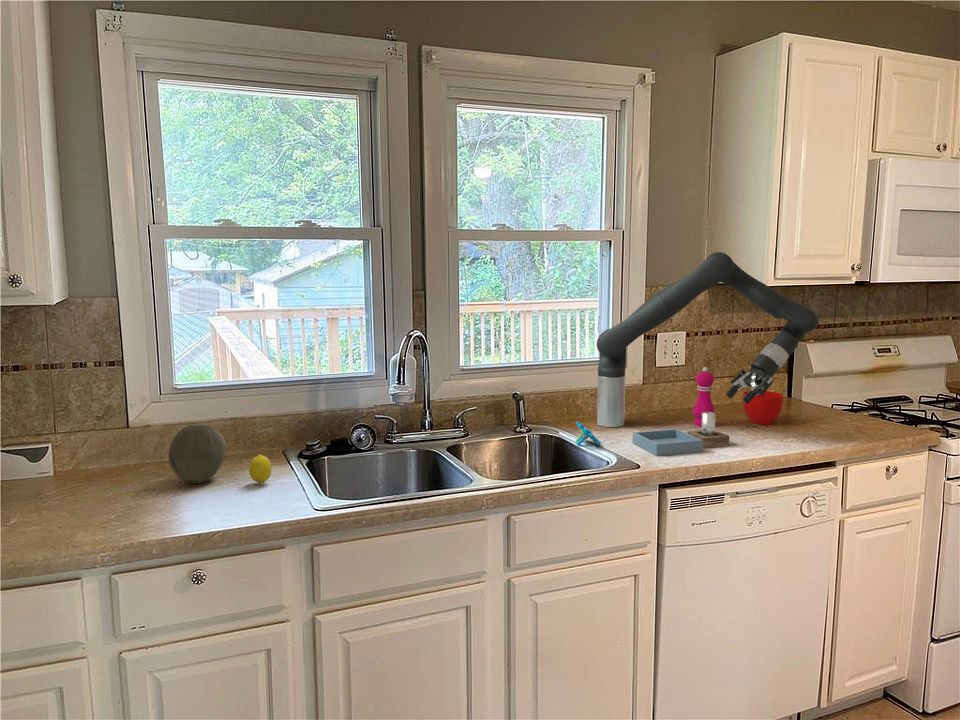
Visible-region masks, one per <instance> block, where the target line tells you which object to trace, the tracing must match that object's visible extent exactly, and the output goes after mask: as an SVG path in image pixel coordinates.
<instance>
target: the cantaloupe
mask: <svg viewBox="0 0 960 720" xmlns="http://www.w3.org/2000/svg"><path fill="white" fill-rule="evenodd" d="M226 444H227V443H226V440H225V438H224V436H223V435H222V434H221V433H220V431H218V429H216V428H215V427H214V426H210V425H205V424H195V425H187V426H185V427H184V428H182V429H180V430H179V431H178V432H177V433H175V435H174V437H173V439H172V440H171V443H170V445H169V449H168V464H169V465H170V468H171V470H172V472H173V473H174V475H176V476H177V477H178V478H179V480H182V481H183V482H189V483H192V482H195V483H194V484H200V483H199V482H202V483H204V482H206V481H208V480H209V479H211V478H213V476H215V475H216V474H217V473H218V471H219V470H220V468H221V466H222V464H223V462H224V458H225V455H226V450H227V449H226V448H227V447H226V446H227V445H226Z"/></svg>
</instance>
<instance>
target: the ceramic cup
mask: <svg viewBox="0 0 960 720" xmlns="http://www.w3.org/2000/svg"><path fill="white" fill-rule="evenodd" d="M749 391H750V390H748V391H743V393H742V399H743V398H744V396H745V395H746V394H747V393H748V392H749ZM783 403H784V395H783V394H782V393H781V392H776V391H769V390H767V391H766V392H765V393H764V394H763V395H760V394H759V395H757V396H755V397H754V398H753V399H752V400H751V401H750V402H749V403H748V404H746V403H745V402H744V401H743V400H742V405H743V409H744V413H745V415H746V416H747V418H748V419H749V421H751V423H753V424H756V425H763V424H764V425H766V426H767V425H771V424H772V423H774V421H775V420H776V419H777V418H778V417H779V415H780V413H781V411H782V409H783ZM764 425H763V426H764Z"/></svg>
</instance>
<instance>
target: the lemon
mask: <svg viewBox="0 0 960 720" xmlns="http://www.w3.org/2000/svg"><path fill="white" fill-rule="evenodd" d="M248 470H249V476H250V478H251V480H252V481H254V482H256V483H258V484H259V483H263V484H264V483H265V482H267V480H269V479H270V477H271V476H272V464H271V461H270V460H269V458H268V457H267V456H264V455H262V454H257V455H256V456H254V457H253V458H252V459H251V461H250V462H249V468H248Z"/></svg>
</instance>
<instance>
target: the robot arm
mask: <svg viewBox="0 0 960 720" xmlns="http://www.w3.org/2000/svg"><path fill="white" fill-rule="evenodd" d="M719 283H722V284H724V285H726V286H728V287H729V288H732V289H734V290H736V291H737V292H738V293H739V294H741V295H743V296H744V297H746V298H747V299H748V300H749V301H750V302H751V303H753V304H755V306H757V307H759V309H761V310H762V311H763V312H766V314H769V315H770V316H771V317H773V318H775V319H778V320H779V319H783V320H785V321H786V323H785V324H784V325H783V327H782V328H781V330H780V331H779V332H778V334H776V335H775V337H774V338H773V339H772V340H771V341H770V342H769V344H767V345H766V346H765V347H764V348H763V349H762V350H761V351H760V352H759V354H757V356H756V357H755V358H754V359H753V360H752V362H751V363H750V369H749V370H748V371H745V369H743V368H742V369H740V371H738V373H736V375H735V376H734V377H733V378H732V379H731V380H730V381H729V383H730V384H731V385H732V386H731V387H730V388H729V390H727V391H726V393H725V395H726V397H727V398H728V399H733V397H735V395H736V394H737V393H738V392H739V390H741V389H743V388H744V389H745V388H747V387H751V388H750V390H748V391H749V392H748V393H747V394H746V395H745V396H744V398H743V397H742V402H743V401H744V402H745V403H746V404H748V403H749V402H750V401H751V400H752V399H753V398H754V397H755V396H757V395H759V394H760V395H763V394H764V393H765V392H766V391H768V389H769V388H770V387H771V386H772V385H773V383H774V382H775V381H774V380H773V377H774V376H775V375H776V373H778V371H779V370H780V369H781V368H782V367H783V366H784V364H785V363H786V362H787V360H788V359H789V358H790V356H791V355H792V354H793V353H794V352H795V351H796V349H797V348H798V346H799V343H800V342H801V341H802V339H803V338H804V337H805V336H806V335H807V334H809V333H810V332H813V331H814V330H816V328H817V327H818V326H819V323H820V320H819V317H818V314H817V313H816V312H815V311H814V310H813V309H811V308H809V307H807V306H805V305H803V304H801V303H798V302H796V301H793V300H792V299H791V300H790V299H789V298H788V297H786V296H784V295H783V294H782V293H780V292H779V291H778V290H775V289H774V288H772V287H771V286H769V285H768V284H765V283H763V282H762V281H761V280H758V279H757V278H755V277H753V276H752V275H751V274H749V273H747V272H746V271H744V270H743V269H742V268H741V267H740V266H738V264H736V262H734V260H733V259H732V257H731V256H730V255H729V254H728V253H727V254H726V253H725V252H722V251H716V252H712V253H710V254H709V255H708V256H706V258H705V259H704V260H703V261H702V263H700V264H699V265H698V266H697V267H696V268H694V269H693V270H692V271H691V272H690V273H688V274H686V276H684V277H682V278H680V279H678V280H677V281H675V282H672V283H671V284H669V285H667V286H666V287H664V288H662V289H661V290H659V291H658V292H657V293H655V294H654V295H652V296H651V297H650V298H649V299H647V300H646V301H645V302H644V303H642V304H641V305H640V306H638V307H637V309H636V310H635V311H633V312H632V313H631V314H630V315H629V316H628V317H627V318H626V319H624V320H623V321H621V322H619V323H618V324H616V325H614V326H612V327H611V328H608V329H606V330H604V331H602V332H601V333H600V334H599V336H598V338H597V339H596V349H597V351H598V353H599V357H598V359H599V360H598V367H597V398H596V399H597V402H596V403H597V406H596V407H597V408H596V410H597V413H596V414H597V416H596V417H597V418H596V419H597V420H596V424H597V425H598V426H600V427H605V428H606V427H607V428H618V427H623V426H625V413H626V412H625V409H626V408H625V407H626V401H625V400H626V399H625V396H626V367H627V347H628V346H630V345H631V344H632V343H633V342H635V340H636V339H638V338H640V337H641V336H642V335H644V334H646V333H648V332H650V331H652V330H654V329H655V328H657V327H659V326H661V325H662V324H664V323H665V322H667V321H668V320H669V319H671V318H673V317H674V316H675V315H677V314H678V313H679V312H681V311H682V310H683V309H685V308H686V307H687V306H688V305H689V304H691V302H692V301H693V300H695V299H696V298H697V297H698V296H699V295H701V294H703V293H704V292H705V291H707V290H709V289H710V288H712V287H714V286H716V285H718V284H719Z"/></svg>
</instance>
